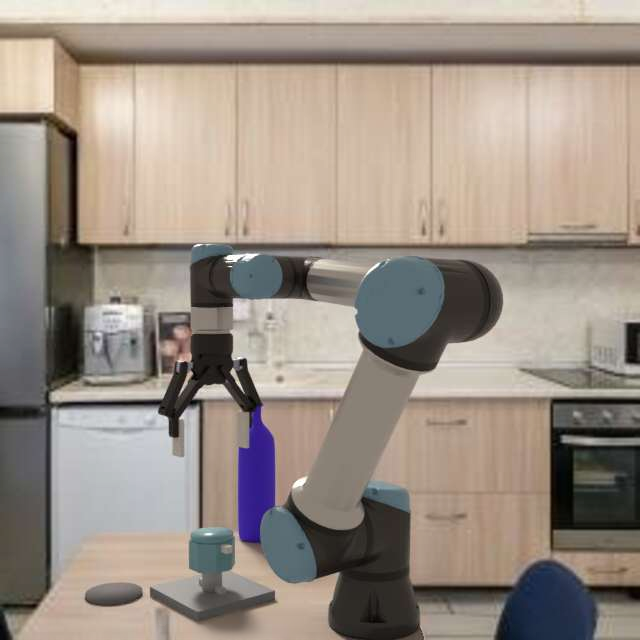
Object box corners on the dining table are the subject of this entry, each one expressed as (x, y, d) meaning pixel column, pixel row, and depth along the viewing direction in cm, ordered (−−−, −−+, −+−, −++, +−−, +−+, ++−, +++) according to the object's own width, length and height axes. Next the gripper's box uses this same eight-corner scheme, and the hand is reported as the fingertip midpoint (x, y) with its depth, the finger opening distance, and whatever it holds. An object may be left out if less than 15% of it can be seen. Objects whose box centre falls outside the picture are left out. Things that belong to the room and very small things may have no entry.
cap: (247, 569, 149) (247, 535, 149) (210, 578, 144) (210, 543, 144) (213, 554, 157) (213, 522, 157) (177, 563, 152) (177, 530, 152)
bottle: (269, 544, 183) (270, 406, 182) (233, 541, 185) (233, 405, 184) (279, 533, 191) (279, 401, 190) (244, 531, 193) (244, 400, 192)
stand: (275, 598, 150) (275, 540, 150) (197, 621, 140) (197, 557, 139) (224, 576, 162) (224, 521, 162) (149, 594, 152) (149, 536, 151)
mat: (152, 596, 151) (152, 593, 151) (100, 609, 145) (100, 606, 145) (126, 581, 159) (126, 578, 159) (75, 593, 152) (75, 590, 152)
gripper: (256, 329, 161) (256, 441, 161) (138, 333, 144) (138, 456, 145) (280, 331, 155) (280, 446, 155) (160, 334, 139) (160, 463, 139)
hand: (211, 451), depth 150 cm, fingers open, 13 cm apart
